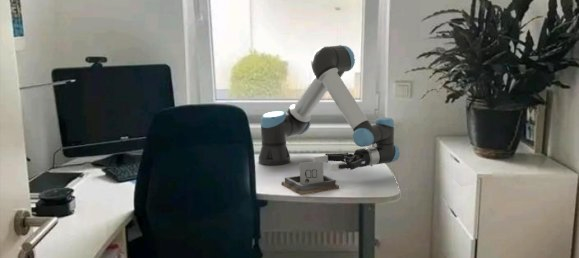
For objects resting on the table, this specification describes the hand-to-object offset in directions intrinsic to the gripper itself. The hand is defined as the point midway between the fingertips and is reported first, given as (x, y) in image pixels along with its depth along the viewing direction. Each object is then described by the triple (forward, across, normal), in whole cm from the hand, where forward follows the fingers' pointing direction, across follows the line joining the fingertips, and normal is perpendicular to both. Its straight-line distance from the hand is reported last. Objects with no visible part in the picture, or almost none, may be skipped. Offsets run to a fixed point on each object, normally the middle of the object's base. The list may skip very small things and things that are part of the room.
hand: (322, 163), depth 225 cm
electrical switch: (+6, 0, -8) cm, 10 cm away
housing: (+6, 0, -9) cm, 10 cm away
